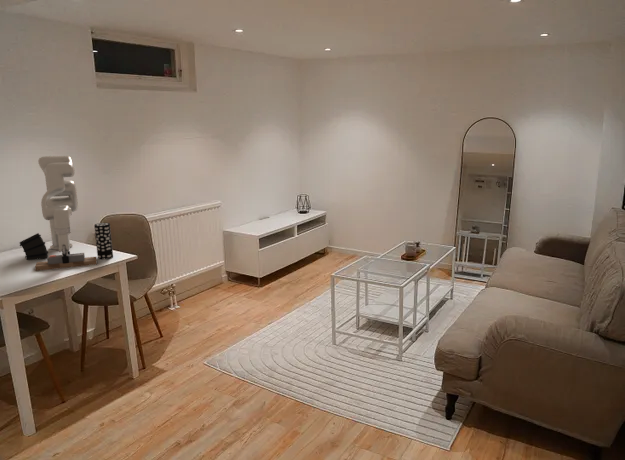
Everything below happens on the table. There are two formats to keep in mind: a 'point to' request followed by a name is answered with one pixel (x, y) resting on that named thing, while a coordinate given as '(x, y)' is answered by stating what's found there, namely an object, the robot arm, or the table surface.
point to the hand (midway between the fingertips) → (66, 260)
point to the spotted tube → (103, 241)
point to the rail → (65, 264)
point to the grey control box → (72, 258)
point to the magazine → (34, 248)
